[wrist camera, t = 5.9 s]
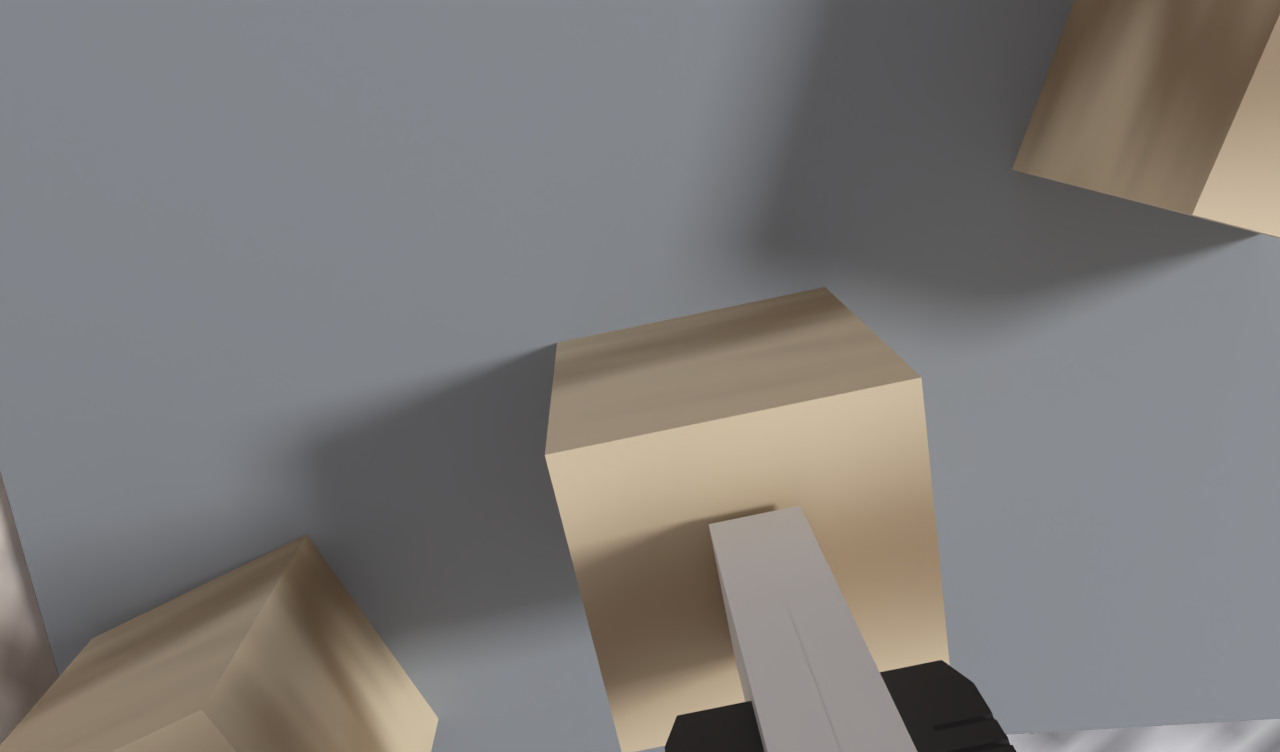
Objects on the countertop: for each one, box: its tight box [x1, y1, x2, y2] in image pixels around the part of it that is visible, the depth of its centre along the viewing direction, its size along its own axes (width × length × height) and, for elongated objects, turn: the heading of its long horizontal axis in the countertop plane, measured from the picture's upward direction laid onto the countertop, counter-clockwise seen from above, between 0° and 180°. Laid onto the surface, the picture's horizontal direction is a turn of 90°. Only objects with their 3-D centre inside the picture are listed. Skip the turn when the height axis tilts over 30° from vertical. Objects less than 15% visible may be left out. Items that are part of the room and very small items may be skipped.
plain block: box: [545, 287, 950, 752], centre depth 18 cm, size 6×6×6 cm
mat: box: [0, 0, 1280, 752], centre depth 21 cm, size 20×32×1 cm, turn 91°
